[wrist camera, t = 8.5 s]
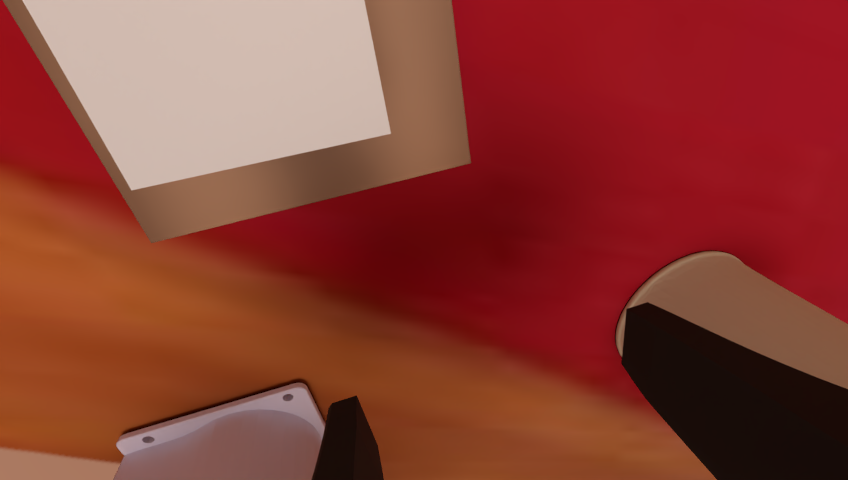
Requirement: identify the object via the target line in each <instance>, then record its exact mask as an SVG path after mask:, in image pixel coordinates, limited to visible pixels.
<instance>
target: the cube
mask: <svg viewBox="0 0 848 480" xmlns="http://www.w3.org/2000/svg"><path fill="white" fill-rule="evenodd" d="M22 1H23V2H24V4H25V6H26V8H27V9H28V11H29V13H30V15H31V16H32V18H33V20H34V21H35V23H36V25H37V27H38V28H39V30H40V32H41V34H42V35H43V37H44V39H45V41H46V42H47V44H48V46H49V48H50V49H51V51H52V53H53V55H54V56H55V58H56V60H57V62H58V63H59V65H60V67H61V69H62V70H63V72H64V74H65V75H66V77H67V79H68V81H69V82H70V84H71V86H72V88H73V89H74V91H75V93H76V95H77V96H78V98H79V100H80V102H81V103H82V105H83V107H84V109H85V110H86V112H87V114H88V116H89V117H90V119H91V121H92V123H93V124H94V126H95V128H96V130H97V131H98V133H99V135H100V136H101V138H102V140H103V142H104V143H105V145H106V147H107V149H108V150H109V152H110V154H111V156H112V157H113V159H114V161H115V163H116V164H117V166H118V168H119V170H120V171H121V173H122V175H123V177H124V178H125V180H126V182H127V184H128V185H129V187H130V189H131V190H136V189H141V188H145V187H150V186H154V185H159V184H163V183H168V182H173V181H177V180H182V179H186V178H191V177H195V176H200V175H205V174H209V173H214V172H218V171H223V170H227V169H232V168H237V167H241V166H246V165H250V164H255V163H259V162H264V161H269V160H273V159H278V158H282V157H287V156H291V155H296V154H301V153H305V152H310V151H314V150H319V149H323V148H328V147H333V146H337V145H342V144H346V143H351V142H355V141H360V140H365V139H369V138H374V137H378V136H383V135H387V134H391V131H390V126H389V121H388V116H387V111H386V106H385V101H384V96H383V91H382V86H381V81H380V76H379V71H378V66H377V61H376V56H375V51H374V46H373V41H372V36H371V31H370V26H369V21H368V16H367V11H366V6H365V1H364V0H22Z"/></svg>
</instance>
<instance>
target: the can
mask: <svg viewBox="0 0 848 480" xmlns="http://www.w3.org/2000/svg"><path fill="white" fill-rule="evenodd" d="M646 302H649V303H651V304H653V305H655V306H658V307H660V308H662V309H664V310H666V311H669V312H671V313H673V314H675V315H677V316H679V317H681V318H684V319H686V320H688V321H690V322H692V323H694V324H696V325H698V326H700V327H703V328H705V329H707V330H709V331H711V332H713V333H715V334H718V335H720V336H722V337H724V338H726V339H728V340H731V341H733V342H735V343H737V344H739V345H742V346H744V347H746V348H748V349H751V350H753V351H755V352H757V353H760V354H762V355H764V356H767V357H769V358H771V359H773V360H776V361H778V362H781V363H783V364H785V365H788V366H790V367H793V368H795V369H798V370H800V371H803V372H805V373H807V374H810V375H812V376H815V377H817V378H820V379H822V380H825V381H828V382H830V383H833V384H836V385H838V386H841V387H844V388H846V389H848V324H846V323H845V322H843V321H841V320H839V319H837V318H836V317H834V316H832V315H830V314H829V313H827V312H825V311H823V310H822V309H820V308H818V307H816V306H815V305H813V304H811V303H809V302H807V301H806V300H804V299H802V298H800V297H799V296H797V295H795V294H793V293H792V292H790V291H788V290H786V289H785V288H783V287H781V286H780V285H778V284H776V283H774V282H773V281H771V280H769V279H768V278H766V277H764V276H762V275H761V274H759V273H757V272H756V271H754V270H752V269H751V268H749V267H748V266H746V265H744V264H743V263H742V262H741V261H740V260H739V259H738V258H736V257H735V256H733V255H731V254H728V253H725V252H720V251H705V252H700V253H695V254H691V255H688V256H686V257H683V258H681V259H678V260H676V261H674V262H672V263H671V264H669V265H667V266H666V267H664V268H662V269H661V270H659V271H658V272H657V273H655V274H654V275H653V276H652V277H651V278H649V279H648V280H647V281H646V282H645V283H644V284H643V285H642V286H641V287H640V288H639V289H638V290H637V291H636V292H635V294H634V295H633V296H632V297H631V299H630V300H629V302H628V303H627V305H626V307H625V308H624V310H623V312H622V314H621V316H620V319H619V322H618V325H617V329H616V345H617V349H618V351H619V353H620V355H621V356H622V353H623V342H624V331H625V320H626V309H628V308H631V307H634V306H637V305H640V304H643V303H646Z"/></svg>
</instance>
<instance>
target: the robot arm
mask: <svg viewBox="0 0 848 480" xmlns="http://www.w3.org/2000/svg"><path fill="white" fill-rule="evenodd" d="M622 365H623V366H624V368H625V369H626V371H627V372H628V374H629V375H630V377H631V378H632V380H633V381H634V383H635V384H636V386H637V387H638V388H639V390H640V391H641V392H642V394H643V395H644V397H645V398H646V399H647V400H648V402H649V403H650V404H651V405H652V406H653V408H654V409H655V410H656V411H657V412H658V413H659V414H660V416H661V417H662V418H663V419H664V420H665V421H666V422H667V424H668V425H669V426H670V427H671V428H672V429H673V430H674V431H675V433H676V434H677V435H678V436H679V437H680V438H681V439H682V441H683V442H684V443H685V444H686V445H687V446H688V447H689V448H690V450H691V451H692V452H693V453H694V454H695V455H696V456H697V457H698V459H699V460H700V461H701V462H702V463H703V464H704V465H705V466H706V468H707V469H708V470H709V471H710V472H711V473H712V474H713V475H714V477H715V478H716V479H717V480H848V389H846V388H844V387H841V386H838V385H836V384H833V383H830V382H828V381H825V380H822V379H820V378H817V377H815V376H812V375H810V374H807V373H805V372H803V371H800V370H798V369H795V368H793V367H790V366H788V365H785V364H783V363H781V362H778V361H776V360H773V359H771V358H769V357H767V356H764V355H762V354H760V353H757V352H755V351H753V350H751V349H748V348H746V347H744V346H742V345H739V344H737V343H735V342H733V341H731V340H728V339H726V338H724V337H722V336H720V335H718V334H715V333H713V332H711V331H709V330H707V329H705V328H703V327H700V326H698V325H696V324H694V323H692V322H690V321H688V320H686V319H684V318H681V317H679V316H677V315H675V314H673V313H671V312H669V311H666V310H664V309H662V308H660V307H658V306H655V305H653V304H651V303H649V302H646V303H643V304H640V305H637V306H634V307H631V308H628V309H626V320H625V331H624V342H623V353H622ZM286 394H291V395H286ZM116 446H117V448H118V449H119V450H120V451H121V453H122V454H123V455H124V458H123V460H122V462H121V464H120V466H119V468H118V471H117V473H116V475H115V477H114V479H113V480H384V479H383V473H382V467H381V462H380V456H379V451H378V445H377V443H376V441H375V438H374V436H373V433H372V431H371V429H370V426H369V424H368V422H367V419H366V417H365V414H364V412H363V410H362V407H361V405H360V403H359V400H358V398H357V396H354V397H351V398H348V399H344V400H341V401H338V402H335V403H332V404H331V406H330V407H329V410H328V415H327V420H326V424H325V422H324V420H323V418H322V416H321V414H320V412H319V410H318V408H317V406H316V404H315V402H314V399H313V397H312V395H311V393H310V391H309V389H308V387H307V386H306V385H305V384H303V383H294V384H290V385H287V386H284V387H280V388H277V389H274V390H270V391H267V392H264V393H260V394H257V395H254V396H250V397H247V398H244V399H240V400H237V401H233V402H230V403H227V404H223V405H220V406H217V407H213V408H210V409H207V410H203V411H200V412H197V413H193V414H190V415H187V416H183V417H180V418H176V419H173V420H170V421H166V422H163V423H160V424H156V425H153V426H150V427H146V428H143V429H140V430H136V431H133V432H130V433H126V434H124V435H121V437H120V438H119V439H118V441H117V444H116Z"/></svg>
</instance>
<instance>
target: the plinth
mask: <svg viewBox="0 0 848 480" xmlns="http://www.w3.org/2000/svg"><path fill="white" fill-rule="evenodd" d="M3 1H4V3H5V5H6V6H7V8H8V10H9V11H10V13H11V14H12V16H13V18H14V19H15V21H16V23H17V24H18V26H19V28H20V29H21V31H22V32H23V34H24V36H25V37H26V39H27V41H28V42H29V44H30V45H31V47H32V49H33V50H34V52H35V54H36V55H37V57H38V59H39V60H40V62H41V63H42V65H43V67H44V68H45V70H46V72H47V73H48V75H49V77H50V78H51V80H52V81H53V83H54V85H55V86H56V88H57V90H58V91H59V93H60V95H61V96H62V98H63V99H64V101H65V103H66V104H67V106H68V108H69V109H70V111H71V112H72V114H73V116H74V117H75V119H76V121H77V122H78V124H79V126H80V127H81V129H82V130H83V132H84V134H85V135H86V137H87V139H88V140H89V142H90V144H91V145H92V147H93V148H94V150H95V152H96V153H97V155H98V157H99V158H100V160H101V161H102V163H103V165H104V166H105V168H106V170H107V171H108V173H109V175H110V176H111V178H112V179H113V181H114V183H115V184H116V186H117V188H118V189H119V191H120V193H121V194H122V196H123V197H124V199H125V201H126V202H127V204H128V206H129V207H130V209H131V210H132V212H133V214H134V215H135V217H136V219H137V220H138V222H139V224H140V225H141V227H142V228H143V230H144V232H145V233H146V235H147V237H148V238H149V240H150V242H151V243H154V242H158V241H162V240H166V239H170V238H174V237H178V236H182V235H186V234H190V233H194V232H198V231H202V230H206V229H210V228H214V227H218V226H222V225H226V224H230V223H234V222H238V221H242V220H246V219H250V218H254V217H258V216H262V215H266V214H270V213H274V212H278V211H282V210H286V209H290V208H294V207H298V206H302V205H306V204H310V203H314V202H318V201H322V200H326V199H330V198H334V197H338V196H342V195H346V194H350V193H354V192H358V191H362V190H366V189H370V188H374V187H378V186H382V185H386V184H390V183H394V182H398V181H402V180H406V179H410V178H414V177H418V176H422V175H426V174H430V173H434V172H438V171H442V170H446V169H450V168H454V167H458V166H462V165H466V164H470V163H471V160H470V152H469V144H468V135H467V127H466V118H465V110H464V101H463V93H462V84H461V76H460V68H459V59H458V51H457V42H456V34H455V25H454V17H453V8H452V0H364V1H365V6H366V11H367V16H368V21H369V26H370V31H371V36H372V41H373V46H374V51H375V56H376V61H377V66H378V71H379V76H380V81H381V86H382V91H383V96H384V101H385V106H386V111H387V116H388V121H389V126H390V131H391V134H387V135H383V136H378V137H374V138H369V139H365V140H360V141H355V142H351V143H346V144H342V145H337V146H333V147H328V148H323V149H319V150H314V151H310V152H305V153H301V154H296V155H291V156H287V157H282V158H278V159H273V160H269V161H264V162H259V163H255V164H250V165H246V166H241V167H237V168H232V169H227V170H223V171H218V172H214V173H209V174H205V175H200V176H195V177H191V178H186V179H182V180H177V181H173V182H168V183H163V184H159V185H154V186H150V187H145V188H141V189H136V190H131V189H130V187H129V185H128V184H127V182H126V180H125V178H124V177H123V175H122V173H121V171H120V170H119V168H118V166H117V164H116V163H115V161H114V159H113V157H112V156H111V154H110V152H109V150H108V149H107V147H106V145H105V143H104V142H103V140H102V138H101V136H100V135H99V133H98V131H97V130H96V128H95V126H94V124H93V123H92V121H91V119H90V117H89V116H88V114H87V112H86V110H85V109H84V107H83V105H82V103H81V102H80V100H79V98H78V96H77V95H76V93H75V91H74V89H73V88H72V86H71V84H70V82H69V81H68V79H67V77H66V75H65V74H64V72H63V70H62V69H61V67H60V65H59V63H58V62H57V60H56V58H55V56H54V55H53V53H52V51H51V49H50V48H49V46H48V44H47V42H46V41H45V39H44V37H43V35H42V34H41V32H40V30H39V28H38V27H37V25H36V23H35V21H34V20H33V18H32V16H31V15H30V13H29V11H28V9H27V8H26V6H25V4H24V2H23V1H22V0H3Z"/></svg>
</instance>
